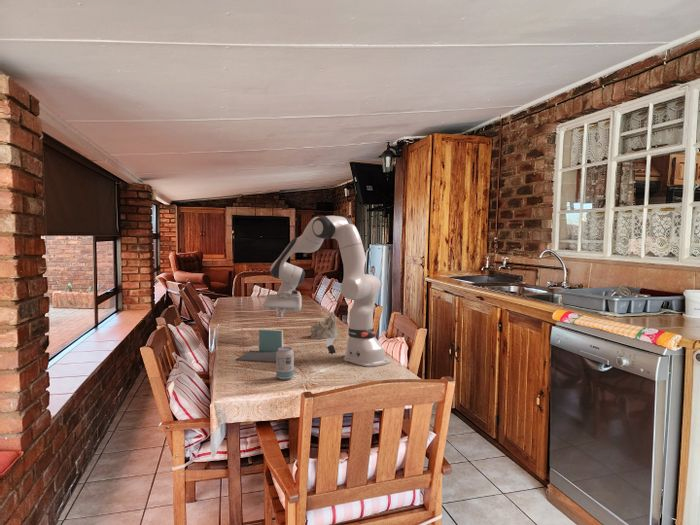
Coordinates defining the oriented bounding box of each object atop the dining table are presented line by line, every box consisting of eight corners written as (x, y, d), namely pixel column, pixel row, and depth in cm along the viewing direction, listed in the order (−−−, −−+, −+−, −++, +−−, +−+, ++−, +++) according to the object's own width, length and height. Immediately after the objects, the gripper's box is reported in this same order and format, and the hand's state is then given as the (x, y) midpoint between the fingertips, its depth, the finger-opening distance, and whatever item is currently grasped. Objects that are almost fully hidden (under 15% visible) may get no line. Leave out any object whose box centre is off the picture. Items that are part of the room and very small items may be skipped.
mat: (250, 351, 218) (250, 350, 218) (289, 353, 214) (289, 352, 214) (236, 360, 202) (235, 359, 202) (277, 363, 198) (277, 361, 198)
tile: (260, 350, 220) (260, 328, 219) (283, 351, 218) (283, 329, 217) (258, 351, 218) (258, 329, 217) (281, 353, 216) (281, 330, 215)
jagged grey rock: (340, 333, 260) (338, 308, 258) (336, 340, 244) (334, 314, 242) (314, 334, 262) (312, 309, 260) (308, 341, 245) (306, 315, 244)
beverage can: (294, 375, 181) (294, 346, 180) (292, 381, 174) (292, 350, 173) (277, 375, 180) (277, 346, 180) (275, 381, 174) (275, 351, 173)
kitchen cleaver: (317, 338, 244) (334, 336, 245) (317, 341, 245) (335, 339, 245) (317, 353, 213) (338, 350, 214) (318, 357, 214) (338, 354, 214)
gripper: (265, 290, 238) (258, 311, 229) (302, 292, 234) (296, 313, 225) (269, 297, 242) (262, 318, 233) (304, 299, 238) (299, 320, 230)
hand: (279, 316), depth 229 cm, fingers closed
